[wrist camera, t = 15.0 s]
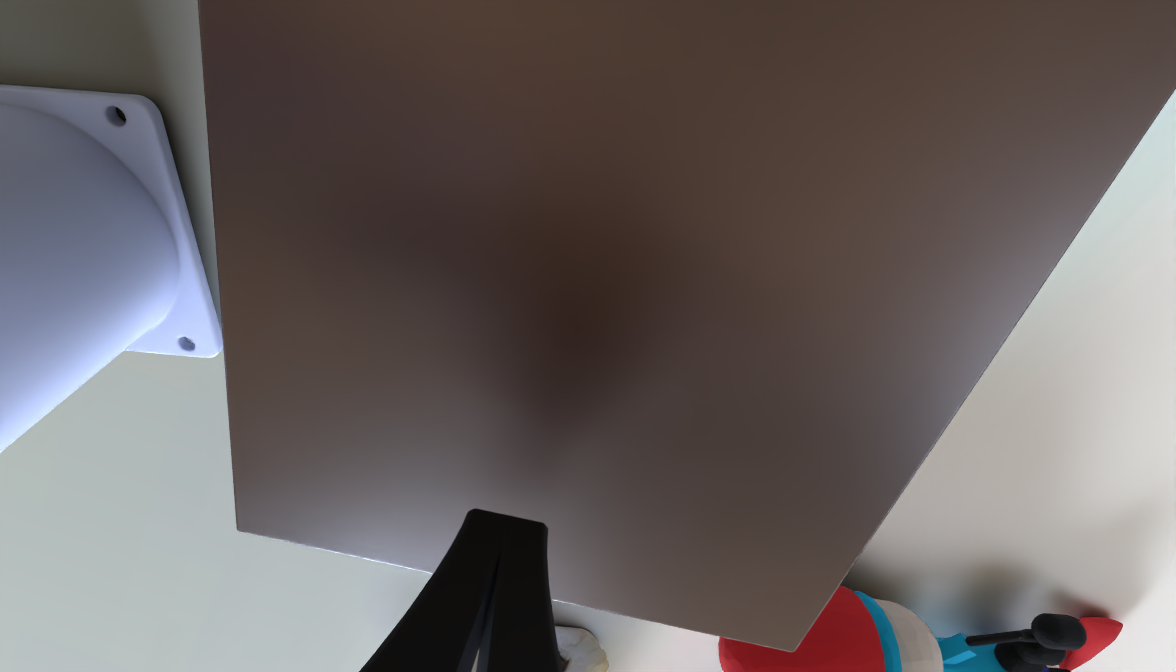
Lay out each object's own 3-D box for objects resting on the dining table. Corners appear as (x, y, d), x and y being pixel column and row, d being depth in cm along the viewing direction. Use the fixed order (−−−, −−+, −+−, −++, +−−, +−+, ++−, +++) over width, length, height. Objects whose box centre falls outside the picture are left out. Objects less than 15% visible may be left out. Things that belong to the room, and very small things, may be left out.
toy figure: (1105, 568, 26) (747, 525, 23) (1204, 703, 22) (790, 675, 19) (984, 662, 30) (671, 637, 27) (1049, 788, 27) (693, 776, 23)
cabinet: (410, -227, 14) (167, -364, 7) (975, -68, 14) (1271, -48, 8) (372, 328, 21) (235, 531, 14) (749, 417, 22) (794, 654, 15)
